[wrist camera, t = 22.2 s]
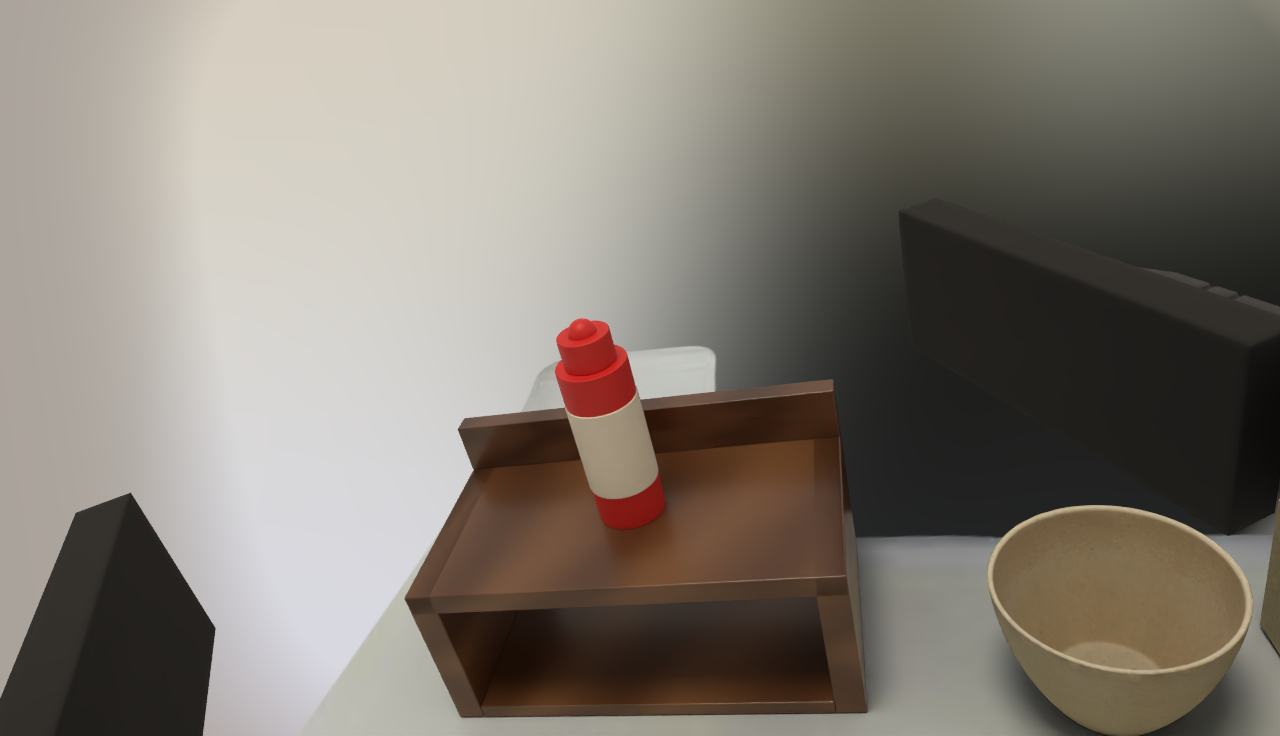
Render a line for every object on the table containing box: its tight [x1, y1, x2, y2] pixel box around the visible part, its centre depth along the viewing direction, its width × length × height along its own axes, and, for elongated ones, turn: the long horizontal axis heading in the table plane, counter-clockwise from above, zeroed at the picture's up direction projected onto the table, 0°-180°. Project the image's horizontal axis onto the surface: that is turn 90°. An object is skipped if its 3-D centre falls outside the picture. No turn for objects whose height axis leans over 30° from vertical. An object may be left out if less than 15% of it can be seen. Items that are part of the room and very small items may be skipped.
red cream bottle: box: [555, 319, 666, 529], centre depth 44 cm, size 4×4×11 cm
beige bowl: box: [987, 505, 1253, 736], centre depth 39 cm, size 10×10×7 cm
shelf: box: [405, 380, 867, 717], centre depth 48 cm, size 22×12×12 cm, turn 81°
